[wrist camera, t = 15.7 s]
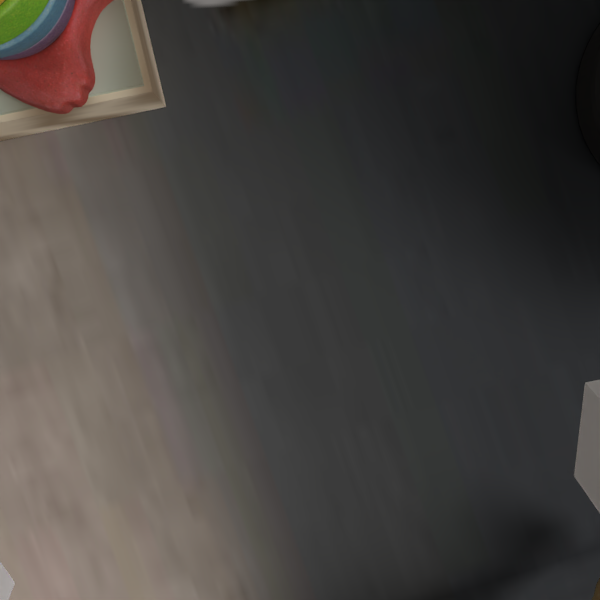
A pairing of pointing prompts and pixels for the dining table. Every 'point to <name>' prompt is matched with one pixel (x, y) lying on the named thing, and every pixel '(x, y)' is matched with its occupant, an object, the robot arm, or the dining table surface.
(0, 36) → the stacking bear
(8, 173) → the dining table surface
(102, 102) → the base block
